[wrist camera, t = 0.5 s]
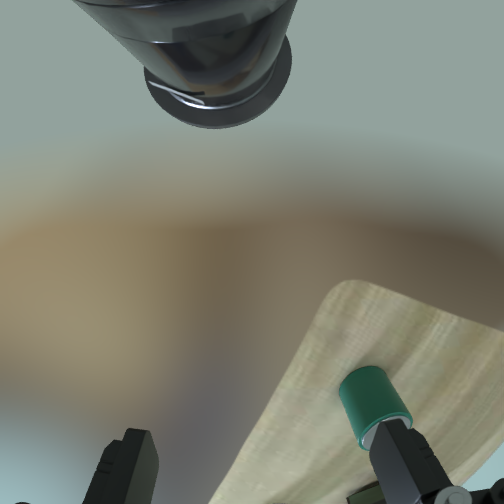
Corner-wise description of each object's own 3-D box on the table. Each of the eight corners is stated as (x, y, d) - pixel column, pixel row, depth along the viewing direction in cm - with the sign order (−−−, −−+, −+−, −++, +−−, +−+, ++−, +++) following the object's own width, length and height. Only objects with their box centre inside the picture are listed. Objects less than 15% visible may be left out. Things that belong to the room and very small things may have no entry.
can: (343, 369, 28) (366, 419, 21) (390, 363, 28) (421, 408, 21) (335, 406, 29) (353, 457, 22) (380, 400, 29) (403, 445, 22)
